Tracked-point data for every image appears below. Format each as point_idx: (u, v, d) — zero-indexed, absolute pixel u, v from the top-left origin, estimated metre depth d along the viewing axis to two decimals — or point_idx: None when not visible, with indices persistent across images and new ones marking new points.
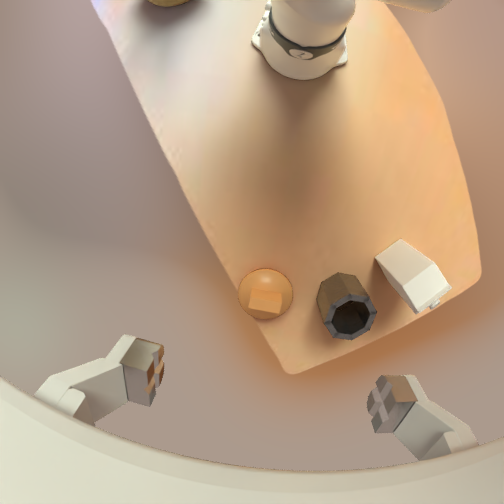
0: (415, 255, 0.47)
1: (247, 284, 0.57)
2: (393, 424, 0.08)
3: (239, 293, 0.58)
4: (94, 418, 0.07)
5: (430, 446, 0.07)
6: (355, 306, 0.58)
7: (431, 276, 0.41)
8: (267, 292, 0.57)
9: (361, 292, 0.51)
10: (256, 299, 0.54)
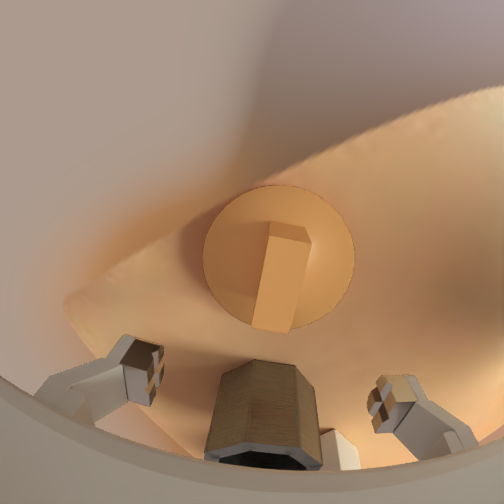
0: None
1: (315, 215, 0.19)
2: (393, 424, 0.08)
3: (285, 190, 0.19)
4: (94, 418, 0.07)
5: (430, 446, 0.07)
6: None
7: None
8: None
9: None
10: (301, 263, 0.16)
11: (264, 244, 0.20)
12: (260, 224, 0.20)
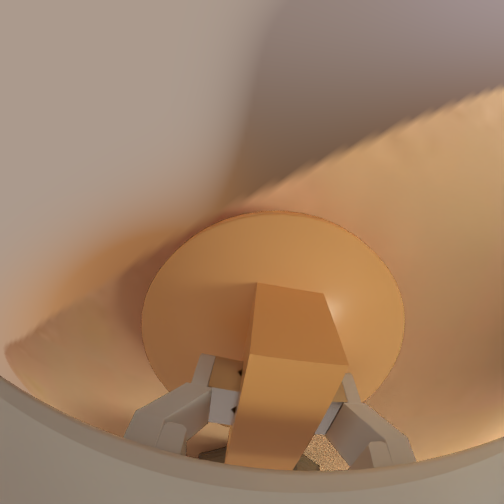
0: None
1: (344, 271, 0.10)
2: (322, 425, 0.08)
3: (287, 225, 0.09)
4: None
5: None
6: None
7: None
8: None
9: None
10: (320, 398, 0.07)
11: (247, 323, 0.11)
12: (238, 289, 0.10)
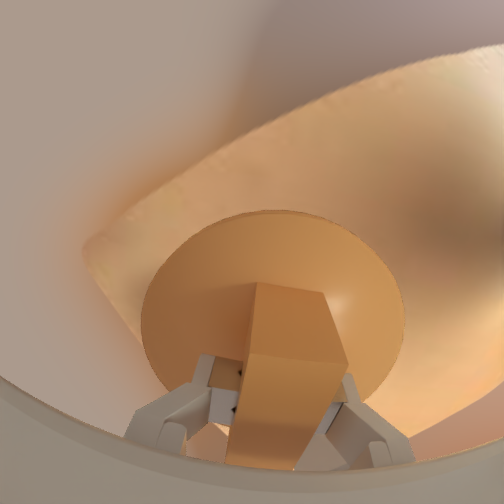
0: None
1: (344, 270, 0.10)
2: (322, 425, 0.08)
3: (287, 224, 0.09)
4: None
5: None
6: None
7: None
8: None
9: None
10: (320, 397, 0.07)
11: (246, 323, 0.11)
12: (238, 288, 0.10)
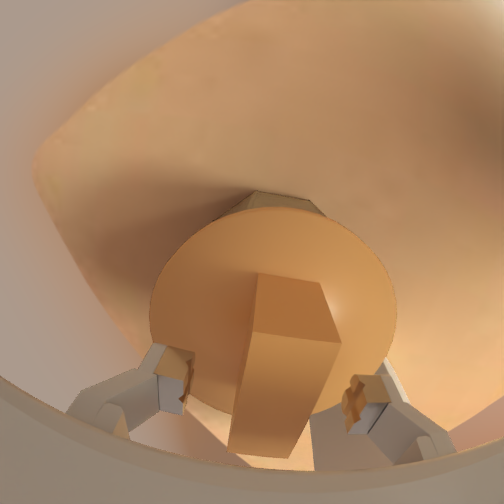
0: None
1: (338, 262, 0.11)
2: (366, 425, 0.08)
3: (286, 219, 0.10)
4: None
5: (405, 450, 0.07)
6: None
7: None
8: None
9: None
10: (317, 375, 0.08)
11: (248, 311, 0.11)
12: (241, 279, 0.11)
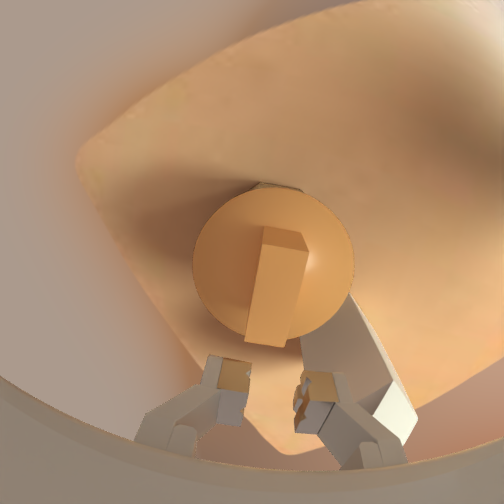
0: (396, 374, 0.23)
1: (312, 219, 0.18)
2: (314, 425, 0.08)
3: (280, 193, 0.18)
4: None
5: None
6: None
7: (404, 426, 0.17)
8: None
9: None
10: (297, 273, 0.15)
11: (258, 251, 0.19)
12: (253, 230, 0.18)
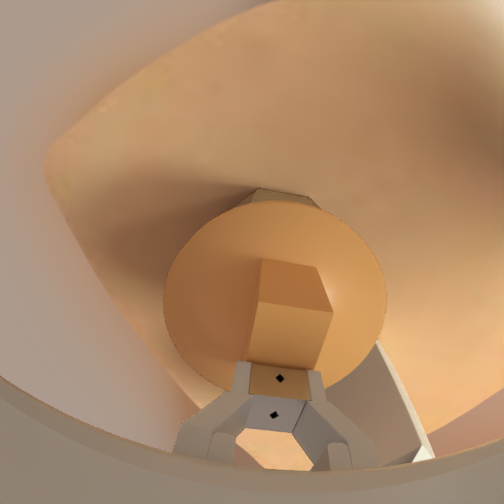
0: (418, 418, 0.18)
1: (332, 248, 0.12)
2: (288, 423, 0.08)
3: (286, 211, 0.12)
4: None
5: None
6: None
7: None
8: None
9: None
10: (313, 342, 0.09)
11: (253, 293, 0.13)
12: (247, 263, 0.13)
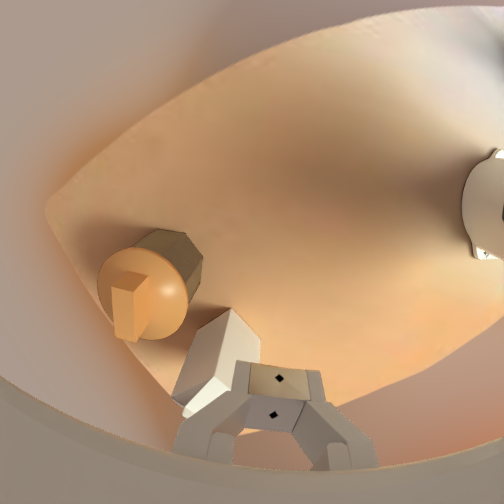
0: None
1: (153, 268, 0.28)
2: (287, 423, 0.08)
3: (134, 253, 0.28)
4: None
5: None
6: None
7: None
8: (146, 305, 0.29)
9: None
10: (130, 302, 0.25)
11: None
12: (123, 273, 0.29)
